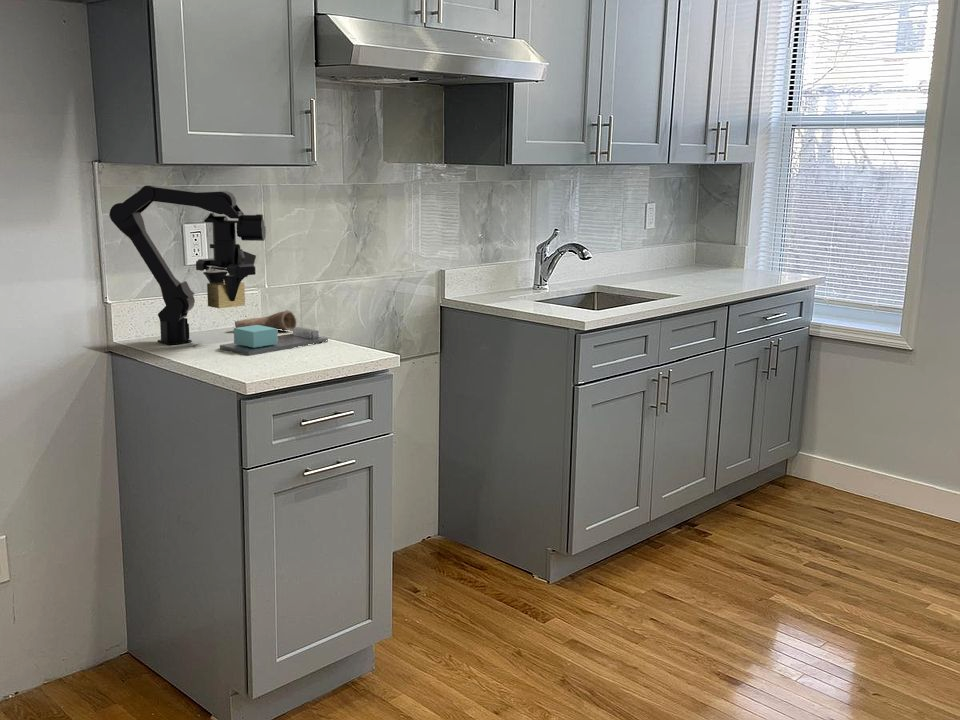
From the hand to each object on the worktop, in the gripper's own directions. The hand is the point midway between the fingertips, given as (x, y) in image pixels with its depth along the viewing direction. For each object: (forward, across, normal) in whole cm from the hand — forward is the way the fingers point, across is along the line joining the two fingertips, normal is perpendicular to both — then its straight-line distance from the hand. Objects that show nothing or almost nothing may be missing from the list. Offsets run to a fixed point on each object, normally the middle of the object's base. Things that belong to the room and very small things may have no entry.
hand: (226, 299), depth 248 cm
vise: (+12, -11, -7) cm, 17 cm away
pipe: (+12, +8, -18) cm, 23 cm away
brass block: (+2, 0, 0) cm, 2 cm away
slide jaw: (+10, -11, -1) cm, 15 cm away
